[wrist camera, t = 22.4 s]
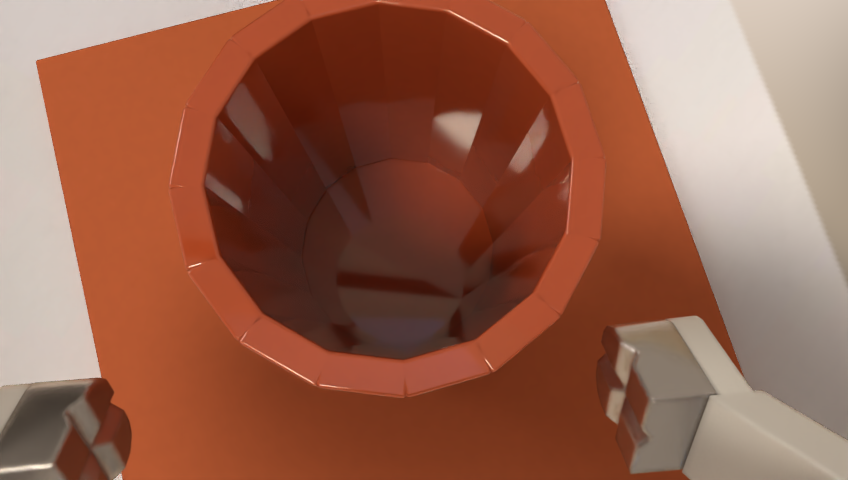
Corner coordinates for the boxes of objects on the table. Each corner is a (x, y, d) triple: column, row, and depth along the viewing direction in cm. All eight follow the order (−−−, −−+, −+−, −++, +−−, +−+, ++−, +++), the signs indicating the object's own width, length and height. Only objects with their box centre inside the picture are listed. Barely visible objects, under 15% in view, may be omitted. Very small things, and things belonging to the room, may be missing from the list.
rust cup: (532, 329, 19) (663, 324, 9) (319, 390, 19) (224, 452, 9) (470, 127, 20) (531, -67, 11) (267, 180, 20) (130, 28, 10)
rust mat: (765, 460, 19) (777, 464, 19) (169, 658, 18) (160, 668, 17) (573, -66, 22) (577, -77, 22) (45, 67, 21) (34, 60, 20)
